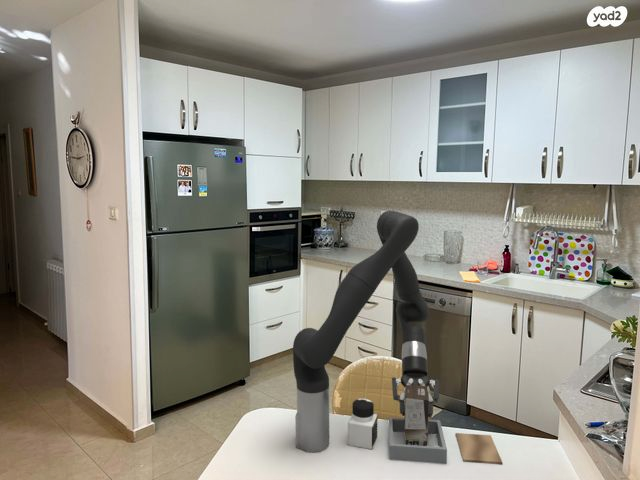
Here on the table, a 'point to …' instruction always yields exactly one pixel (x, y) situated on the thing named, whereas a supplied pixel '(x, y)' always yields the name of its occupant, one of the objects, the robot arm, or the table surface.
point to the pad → (478, 448)
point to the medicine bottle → (362, 424)
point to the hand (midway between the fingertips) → (416, 415)
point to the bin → (416, 451)
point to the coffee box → (416, 415)
